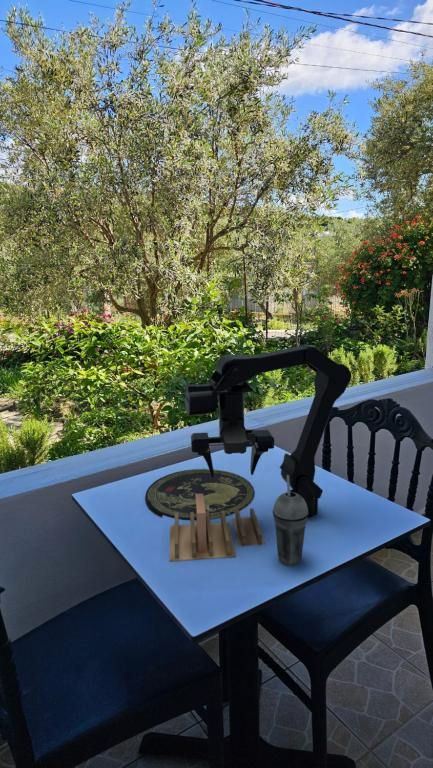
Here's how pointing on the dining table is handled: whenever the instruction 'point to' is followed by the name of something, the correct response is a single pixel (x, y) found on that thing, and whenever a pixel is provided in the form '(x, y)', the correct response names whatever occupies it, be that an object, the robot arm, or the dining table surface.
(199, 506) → the wooden block
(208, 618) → the dining table surface
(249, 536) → the holder
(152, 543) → the dining table surface
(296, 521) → the beverage cup
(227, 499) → the decorative plate
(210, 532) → the rack
